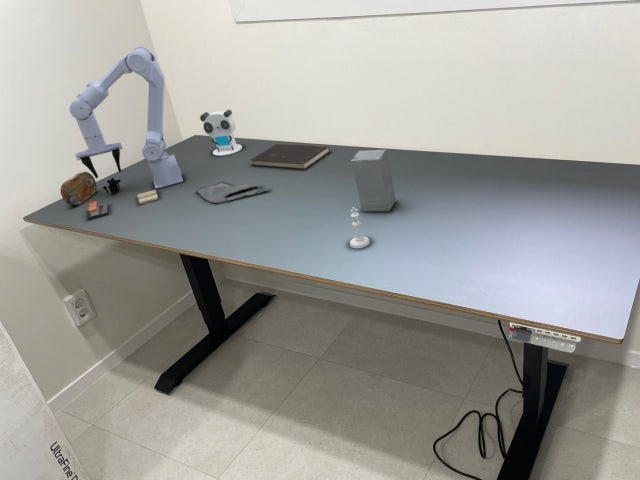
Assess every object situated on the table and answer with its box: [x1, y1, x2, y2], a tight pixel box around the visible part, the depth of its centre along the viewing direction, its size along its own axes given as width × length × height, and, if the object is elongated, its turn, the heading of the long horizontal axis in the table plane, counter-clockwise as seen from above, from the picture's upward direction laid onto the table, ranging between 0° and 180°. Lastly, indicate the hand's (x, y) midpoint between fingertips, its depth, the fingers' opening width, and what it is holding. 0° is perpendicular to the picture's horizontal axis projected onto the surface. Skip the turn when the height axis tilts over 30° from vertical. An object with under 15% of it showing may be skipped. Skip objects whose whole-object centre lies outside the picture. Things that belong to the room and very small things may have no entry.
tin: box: [60, 171, 97, 206], centre depth 194 cm, size 15×3×8 cm, turn 168°
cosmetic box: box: [350, 149, 397, 212], centre depth 153 cm, size 8×7×16 cm
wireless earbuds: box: [102, 177, 121, 195], centre depth 196 cm, size 7×2×5 cm, turn 149°
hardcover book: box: [250, 143, 331, 171], centre depth 200 cm, size 16×23×2 cm
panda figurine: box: [199, 109, 243, 157], centre depth 216 cm, size 12×11×15 cm
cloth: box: [195, 182, 270, 204], centre depth 181 cm, size 26×14×2 cm, turn 60°
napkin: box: [137, 189, 159, 205], centre depth 188 cm, size 6×6×1 cm
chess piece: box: [349, 206, 370, 249], centre depth 139 cm, size 5×5×10 cm
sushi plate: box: [87, 200, 109, 221], centre depth 183 cm, size 6×8×3 cm
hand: (108, 174), depth 194 cm, fingers open, 7 cm apart
